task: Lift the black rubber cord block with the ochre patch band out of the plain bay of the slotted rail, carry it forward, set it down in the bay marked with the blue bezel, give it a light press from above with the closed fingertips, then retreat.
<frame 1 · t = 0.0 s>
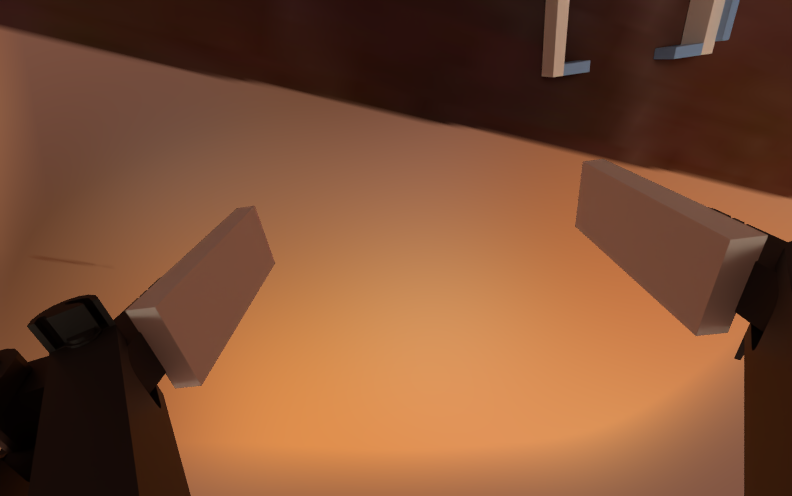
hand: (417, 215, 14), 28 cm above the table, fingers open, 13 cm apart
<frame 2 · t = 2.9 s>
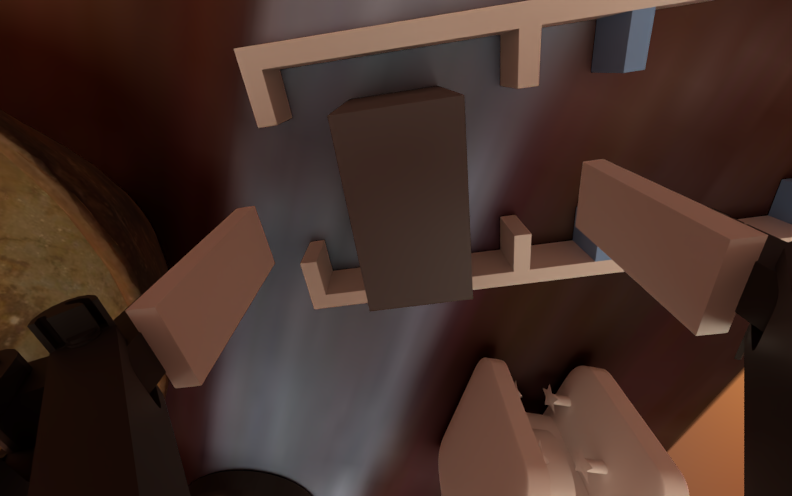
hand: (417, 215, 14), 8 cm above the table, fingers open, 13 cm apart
cable organizer: (509, 401, 32), on the table
cord block: (403, 170, 22), on the table
bowl: (83, 229, 23), on the table
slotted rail: (549, 150, 21), on the table
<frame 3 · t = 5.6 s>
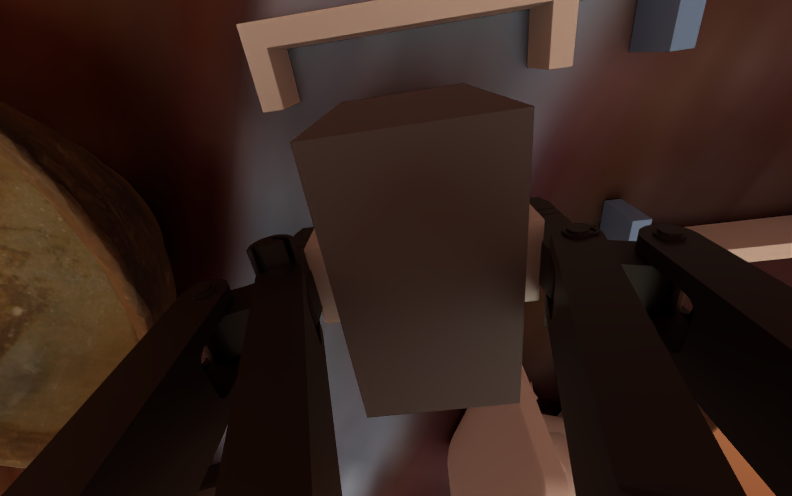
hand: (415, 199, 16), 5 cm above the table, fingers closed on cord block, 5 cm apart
cable organizer: (523, 401, 31), on the table
cord block: (414, 196, 16), point 5 cm above the table, touching gripper
bowl: (85, 219, 23), on the table
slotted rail: (578, 138, 19), on the table
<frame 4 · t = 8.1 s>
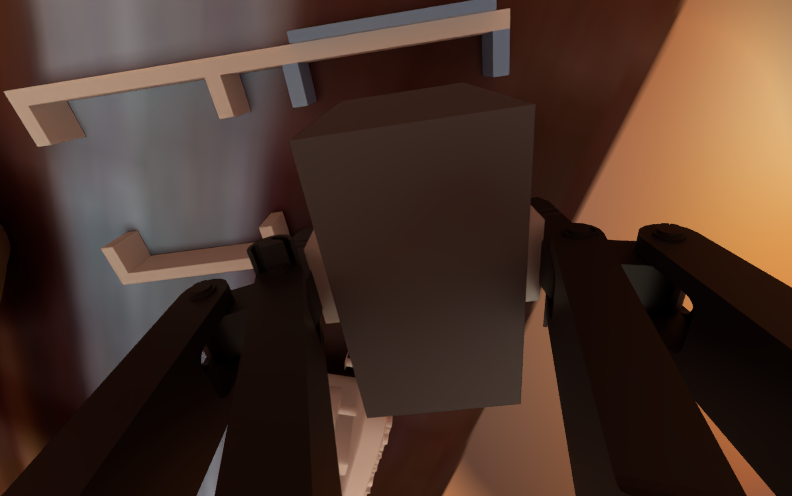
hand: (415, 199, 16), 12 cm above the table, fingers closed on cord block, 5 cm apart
cable organizer: (333, 367, 38), on the table
cord block: (414, 196, 16), point 12 cm above the table, touching gripper
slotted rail: (292, 161, 27), on the table
when the fingers open (1 cm above the table, at t = 10.7 s): cord block stays where it is, on the table.
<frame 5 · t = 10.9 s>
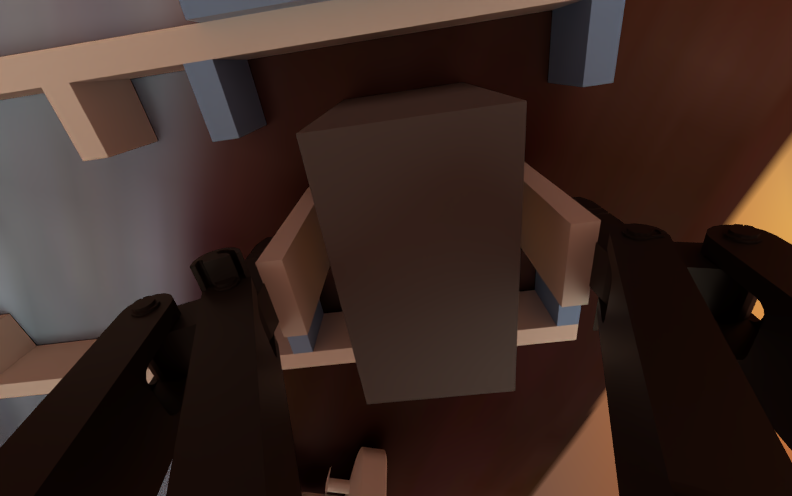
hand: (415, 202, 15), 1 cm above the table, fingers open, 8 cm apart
cable organizer: (312, 475, 28), on the table
cord block: (414, 192, 17), on the table
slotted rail: (233, 217, 17), on the table
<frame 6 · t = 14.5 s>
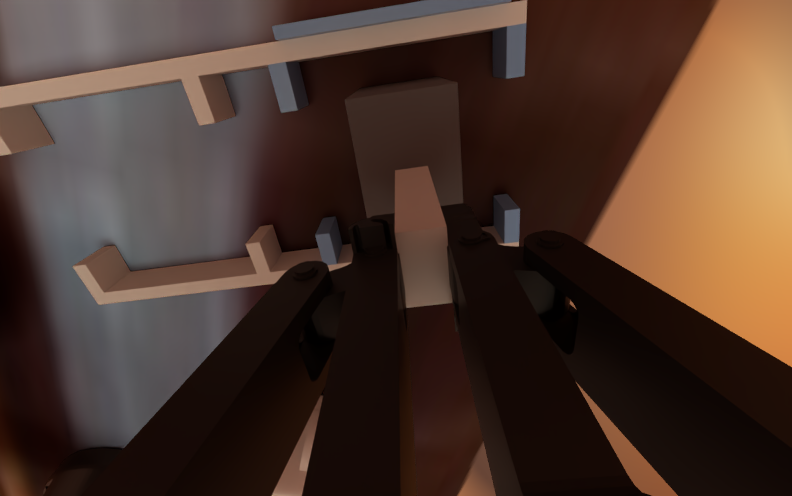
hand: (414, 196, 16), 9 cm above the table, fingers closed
cable organizer: (329, 388, 36), on the table
cord block: (406, 152, 24), on the table
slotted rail: (282, 170, 25), on the table
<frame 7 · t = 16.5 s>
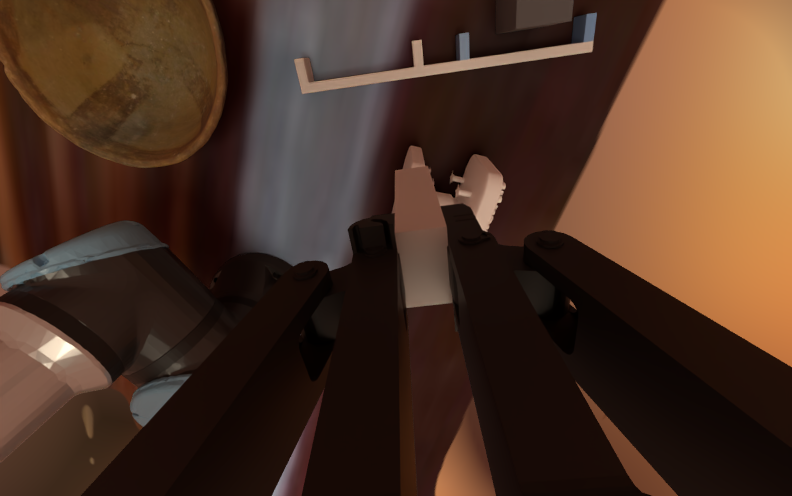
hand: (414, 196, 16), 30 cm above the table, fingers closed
cable organizer: (433, 196, 49), on the table
bowl: (170, 49, 40), on the table
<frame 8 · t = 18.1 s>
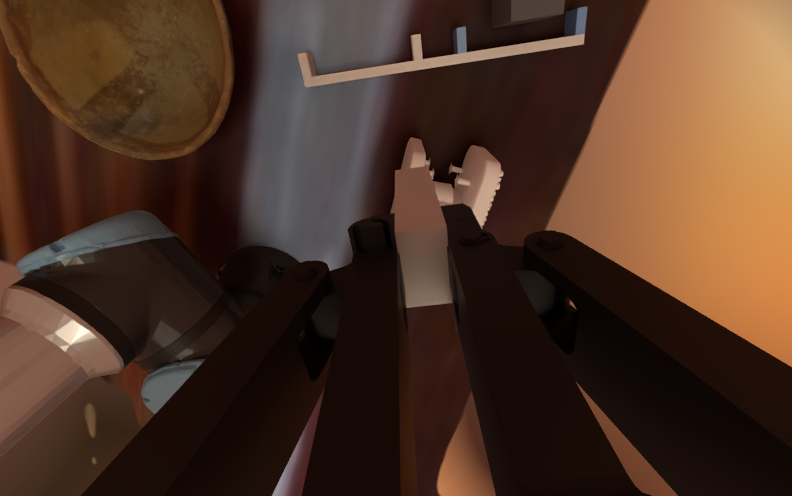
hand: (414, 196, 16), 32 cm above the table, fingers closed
cable organizer: (432, 188, 50), on the table
bowl: (176, 45, 41), on the table
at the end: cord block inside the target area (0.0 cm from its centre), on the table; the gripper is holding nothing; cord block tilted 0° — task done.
